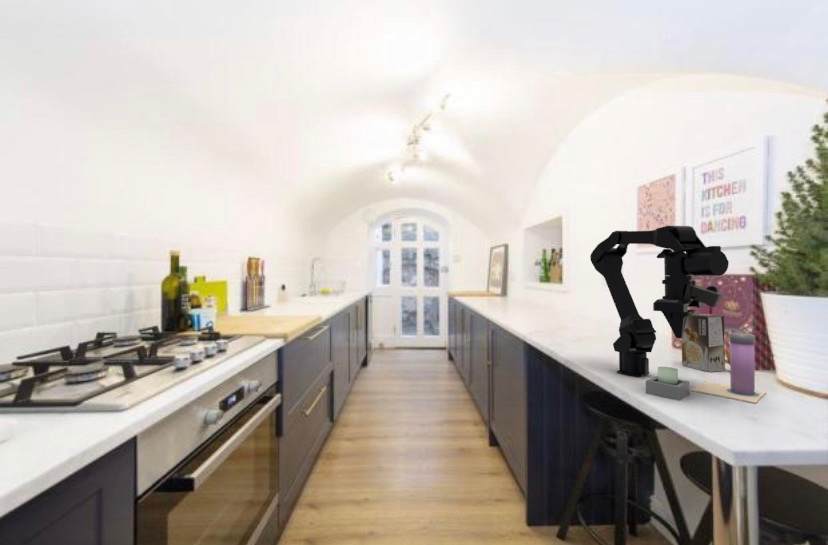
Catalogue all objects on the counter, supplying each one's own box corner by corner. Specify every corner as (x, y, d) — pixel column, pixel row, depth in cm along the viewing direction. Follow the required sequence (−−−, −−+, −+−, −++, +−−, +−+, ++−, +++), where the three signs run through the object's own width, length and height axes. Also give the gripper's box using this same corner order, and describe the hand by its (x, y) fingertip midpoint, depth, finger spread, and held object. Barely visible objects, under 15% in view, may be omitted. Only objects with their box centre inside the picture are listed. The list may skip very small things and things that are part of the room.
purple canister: (727, 392, 93) (727, 334, 93) (732, 388, 96) (732, 332, 96) (752, 396, 89) (752, 336, 89) (757, 392, 92) (756, 334, 92)
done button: (655, 385, 93) (655, 368, 93) (661, 381, 96) (661, 365, 96) (674, 388, 90) (674, 371, 90) (680, 385, 93) (680, 368, 93)
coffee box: (726, 370, 113) (726, 315, 113) (709, 372, 111) (708, 316, 111) (696, 363, 122) (696, 312, 122) (680, 365, 120) (680, 313, 120)
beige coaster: (691, 391, 95) (691, 389, 95) (705, 382, 102) (705, 381, 102) (755, 403, 86) (755, 402, 86) (766, 393, 92) (766, 392, 92)
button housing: (645, 393, 94) (645, 380, 94) (657, 387, 98) (657, 375, 98) (679, 400, 88) (679, 387, 88) (689, 394, 93) (689, 381, 93)
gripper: (709, 276, 85) (710, 347, 85) (726, 275, 97) (727, 337, 97) (652, 276, 93) (653, 341, 93) (674, 275, 106) (675, 332, 106)
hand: (679, 338), depth 97 cm, fingers closed
